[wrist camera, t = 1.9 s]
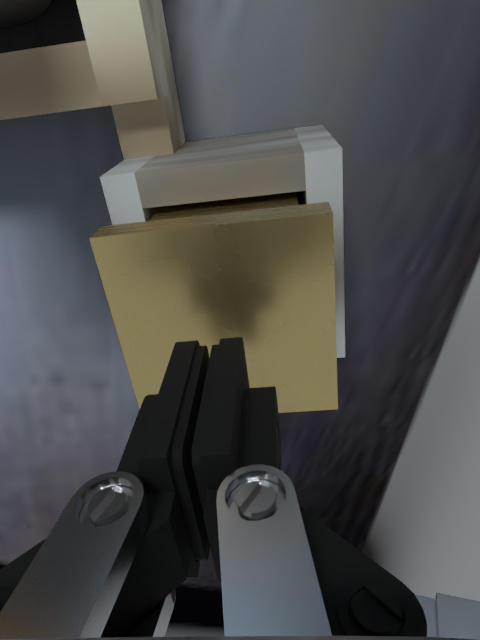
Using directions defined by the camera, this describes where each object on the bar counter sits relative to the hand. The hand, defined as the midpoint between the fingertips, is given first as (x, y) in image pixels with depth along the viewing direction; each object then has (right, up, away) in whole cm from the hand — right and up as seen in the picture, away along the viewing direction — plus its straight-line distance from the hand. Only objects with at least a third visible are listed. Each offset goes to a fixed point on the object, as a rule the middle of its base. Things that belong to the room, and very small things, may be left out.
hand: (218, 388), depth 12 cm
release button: (0, +4, +7) cm, 8 cm away
